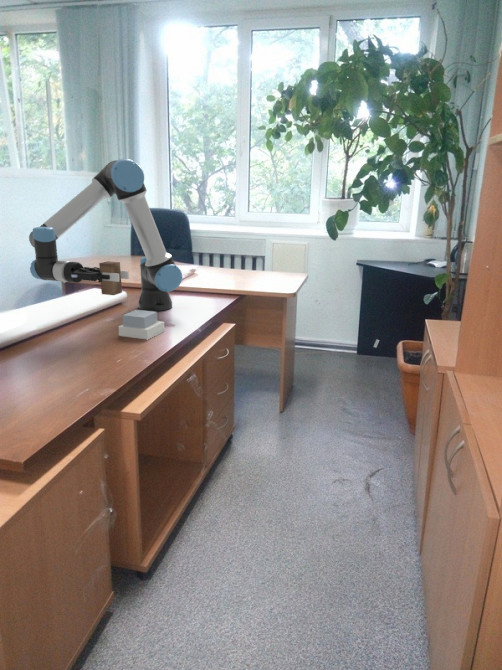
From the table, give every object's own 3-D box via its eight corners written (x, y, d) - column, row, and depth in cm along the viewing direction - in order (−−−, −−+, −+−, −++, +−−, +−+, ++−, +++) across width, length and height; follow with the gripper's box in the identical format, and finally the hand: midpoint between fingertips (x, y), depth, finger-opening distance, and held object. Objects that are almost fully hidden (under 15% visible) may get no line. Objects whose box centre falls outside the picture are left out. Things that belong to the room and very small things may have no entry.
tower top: (136, 319, 182) (136, 309, 181) (157, 322, 179) (157, 311, 178) (123, 325, 174) (122, 315, 173) (144, 328, 171) (144, 317, 170)
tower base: (137, 328, 185) (136, 318, 184) (164, 331, 181) (164, 321, 180) (119, 336, 174) (118, 326, 173) (147, 340, 170) (147, 329, 169)
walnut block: (110, 291, 174) (108, 261, 171) (122, 292, 172) (119, 262, 169) (101, 294, 169) (99, 263, 166) (113, 295, 168) (111, 264, 164)
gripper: (86, 277, 184) (138, 282, 176) (52, 286, 168) (108, 291, 160) (84, 258, 182) (137, 262, 174) (50, 265, 166) (106, 269, 158)
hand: (123, 276), depth 167 cm, fingers closed on walnut block, 5 cm apart
